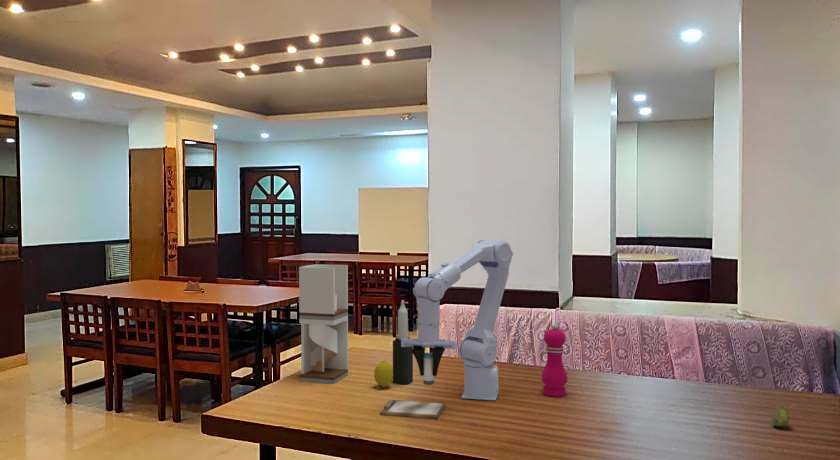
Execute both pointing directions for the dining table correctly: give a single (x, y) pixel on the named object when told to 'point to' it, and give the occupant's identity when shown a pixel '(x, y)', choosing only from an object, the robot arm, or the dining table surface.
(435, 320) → the robot arm
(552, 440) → the dining table surface
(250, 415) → the dining table surface
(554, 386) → the pepper mill
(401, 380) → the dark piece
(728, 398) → the dining table surface
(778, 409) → the lime
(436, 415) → the clipboard
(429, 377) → the marker
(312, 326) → the white tiered tower model
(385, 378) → the lemon
